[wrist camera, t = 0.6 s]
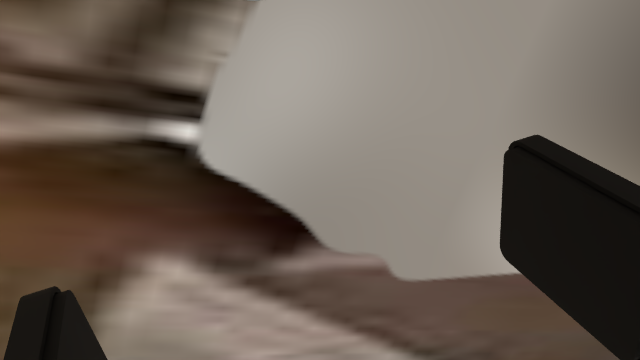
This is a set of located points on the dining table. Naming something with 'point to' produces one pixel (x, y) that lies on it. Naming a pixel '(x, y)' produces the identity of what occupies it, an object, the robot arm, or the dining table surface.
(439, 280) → the dining table surface
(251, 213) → the dining table surface
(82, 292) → the dining table surface
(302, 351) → the dining table surface
